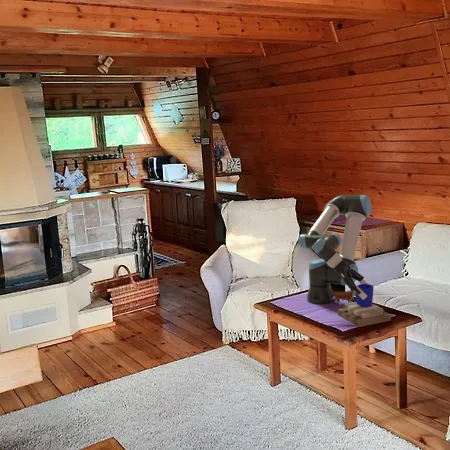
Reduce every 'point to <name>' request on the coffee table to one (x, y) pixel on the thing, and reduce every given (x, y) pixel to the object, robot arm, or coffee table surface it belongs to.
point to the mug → (368, 291)
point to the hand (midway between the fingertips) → (368, 294)
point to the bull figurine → (344, 296)
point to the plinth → (363, 321)
